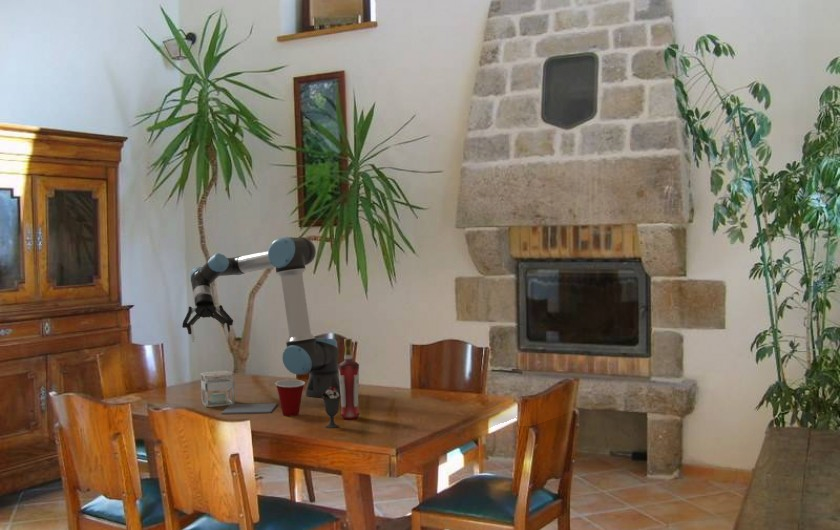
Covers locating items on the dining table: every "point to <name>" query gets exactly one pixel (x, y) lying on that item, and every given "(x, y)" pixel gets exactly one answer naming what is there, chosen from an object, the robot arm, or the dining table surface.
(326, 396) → the sundae
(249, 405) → the mat
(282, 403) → the plastic cup
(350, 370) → the liquor
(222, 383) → the clear glass cube
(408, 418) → the dining table surface
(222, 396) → the soap bar
